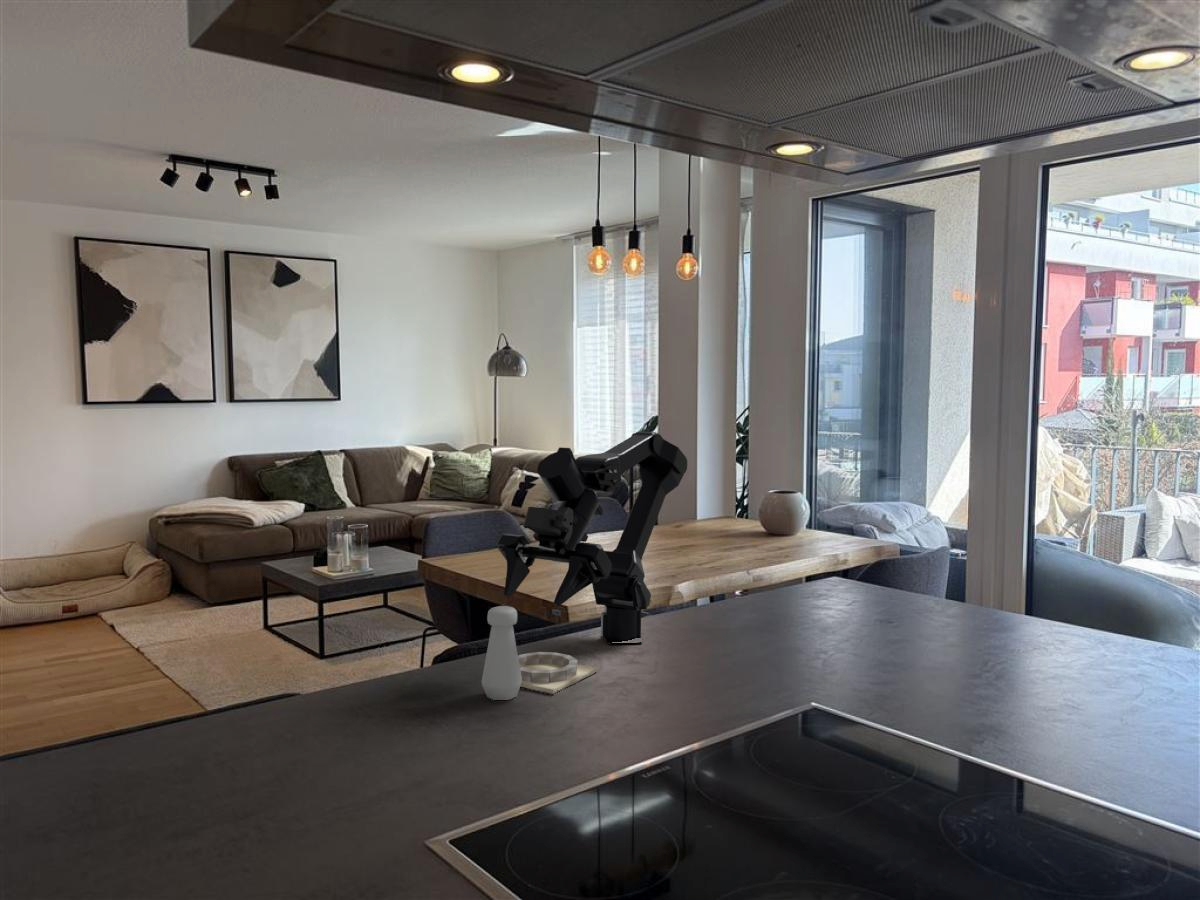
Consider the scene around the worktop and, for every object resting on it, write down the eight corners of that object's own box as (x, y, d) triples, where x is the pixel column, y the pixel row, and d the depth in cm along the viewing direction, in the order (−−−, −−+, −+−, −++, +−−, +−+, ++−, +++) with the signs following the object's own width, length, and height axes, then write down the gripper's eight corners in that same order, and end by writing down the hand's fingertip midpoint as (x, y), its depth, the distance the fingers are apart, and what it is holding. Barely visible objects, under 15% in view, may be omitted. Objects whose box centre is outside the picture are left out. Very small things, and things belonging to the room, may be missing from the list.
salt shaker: (476, 701, 124) (476, 611, 123) (488, 688, 129) (488, 602, 129) (516, 704, 123) (516, 613, 122) (526, 691, 128) (527, 604, 127)
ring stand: (534, 660, 143) (534, 646, 143) (596, 673, 137) (596, 658, 137) (488, 680, 133) (488, 665, 133) (553, 695, 127) (553, 679, 127)
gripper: (503, 483, 140) (457, 562, 131) (603, 491, 130) (561, 577, 121) (532, 526, 147) (490, 604, 138) (628, 536, 137) (590, 621, 128)
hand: (530, 600), depth 131 cm, fingers open, 9 cm apart
